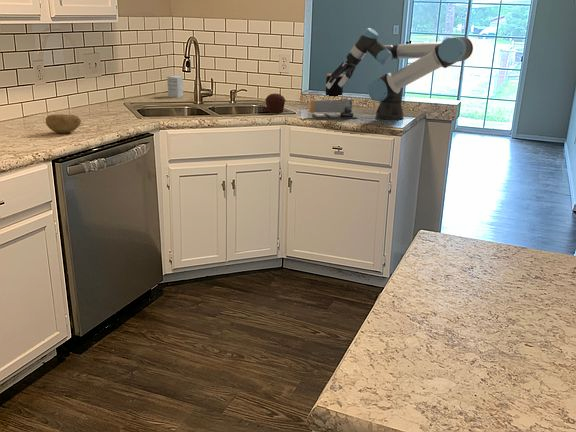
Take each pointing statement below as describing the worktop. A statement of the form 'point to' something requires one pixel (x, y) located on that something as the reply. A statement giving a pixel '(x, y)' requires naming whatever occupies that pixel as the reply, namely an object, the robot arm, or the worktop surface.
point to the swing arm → (331, 105)
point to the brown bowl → (63, 123)
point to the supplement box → (175, 86)
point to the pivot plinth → (347, 115)
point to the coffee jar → (334, 86)
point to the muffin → (275, 103)
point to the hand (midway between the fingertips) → (333, 86)
